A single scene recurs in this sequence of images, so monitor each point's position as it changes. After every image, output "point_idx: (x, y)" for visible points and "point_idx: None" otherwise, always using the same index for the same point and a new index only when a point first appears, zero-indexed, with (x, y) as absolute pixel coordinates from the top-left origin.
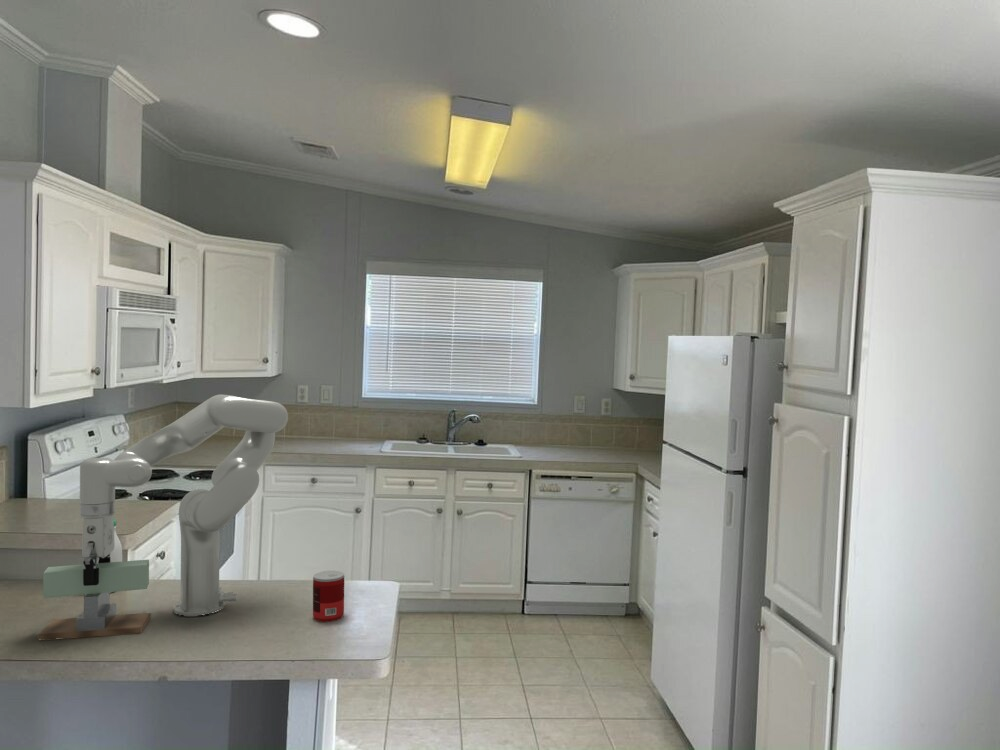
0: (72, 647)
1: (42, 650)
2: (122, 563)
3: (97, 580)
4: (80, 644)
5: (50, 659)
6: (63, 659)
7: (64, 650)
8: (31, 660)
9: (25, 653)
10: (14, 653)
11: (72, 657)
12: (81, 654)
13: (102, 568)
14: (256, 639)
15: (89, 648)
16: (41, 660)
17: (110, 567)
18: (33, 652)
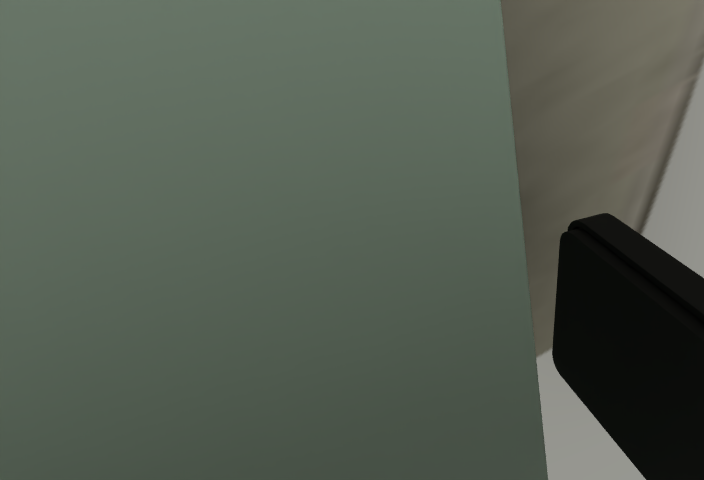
0: (531, 123)
1: (536, 248)
2: (48, 117)
3: (639, 248)
4: None
5: (662, 149)
6: (685, 83)
7: (564, 143)
8: (644, 226)
9: (554, 296)
10: (542, 337)
11: (675, 47)
12: (649, 16)
13: (532, 381)
14: None
15: (571, 11)
16: (660, 183)
17: (511, 255)
18: (551, 272)
